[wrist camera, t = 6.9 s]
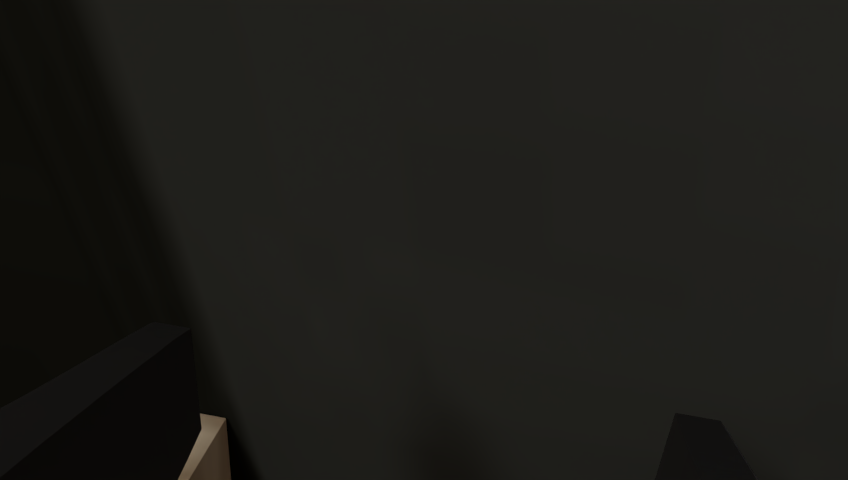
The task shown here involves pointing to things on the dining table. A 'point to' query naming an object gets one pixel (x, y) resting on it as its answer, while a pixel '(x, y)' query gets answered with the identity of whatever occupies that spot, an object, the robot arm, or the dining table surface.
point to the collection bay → (209, 452)
